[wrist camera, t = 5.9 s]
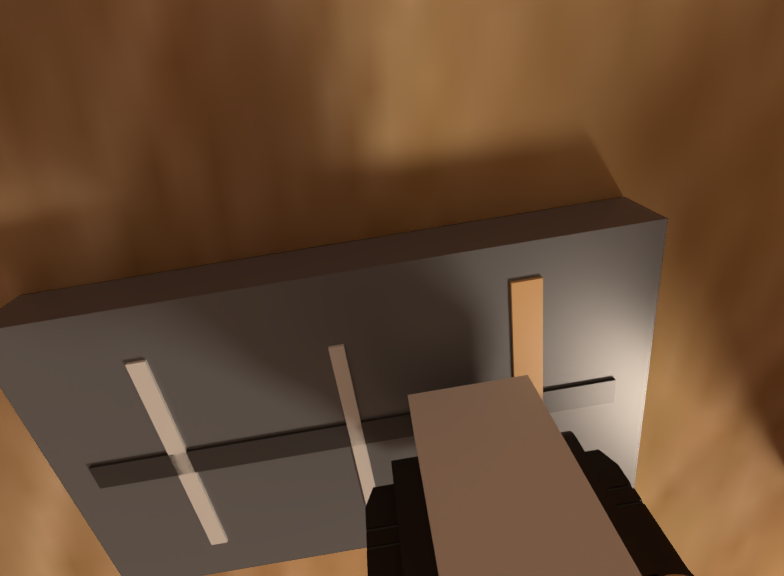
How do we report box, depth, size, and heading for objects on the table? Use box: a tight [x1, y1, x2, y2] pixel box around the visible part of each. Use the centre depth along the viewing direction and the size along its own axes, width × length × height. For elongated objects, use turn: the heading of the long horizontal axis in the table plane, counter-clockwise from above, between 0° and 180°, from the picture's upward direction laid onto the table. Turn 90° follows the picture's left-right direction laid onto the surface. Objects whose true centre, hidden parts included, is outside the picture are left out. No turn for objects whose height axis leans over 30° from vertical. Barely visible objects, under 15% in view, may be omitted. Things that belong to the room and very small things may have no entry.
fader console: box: [0, 197, 668, 576], centre depth 14 cm, size 10×17×2 cm, turn 98°
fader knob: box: [408, 375, 642, 576], centre depth 10 cm, size 4×3×7 cm
